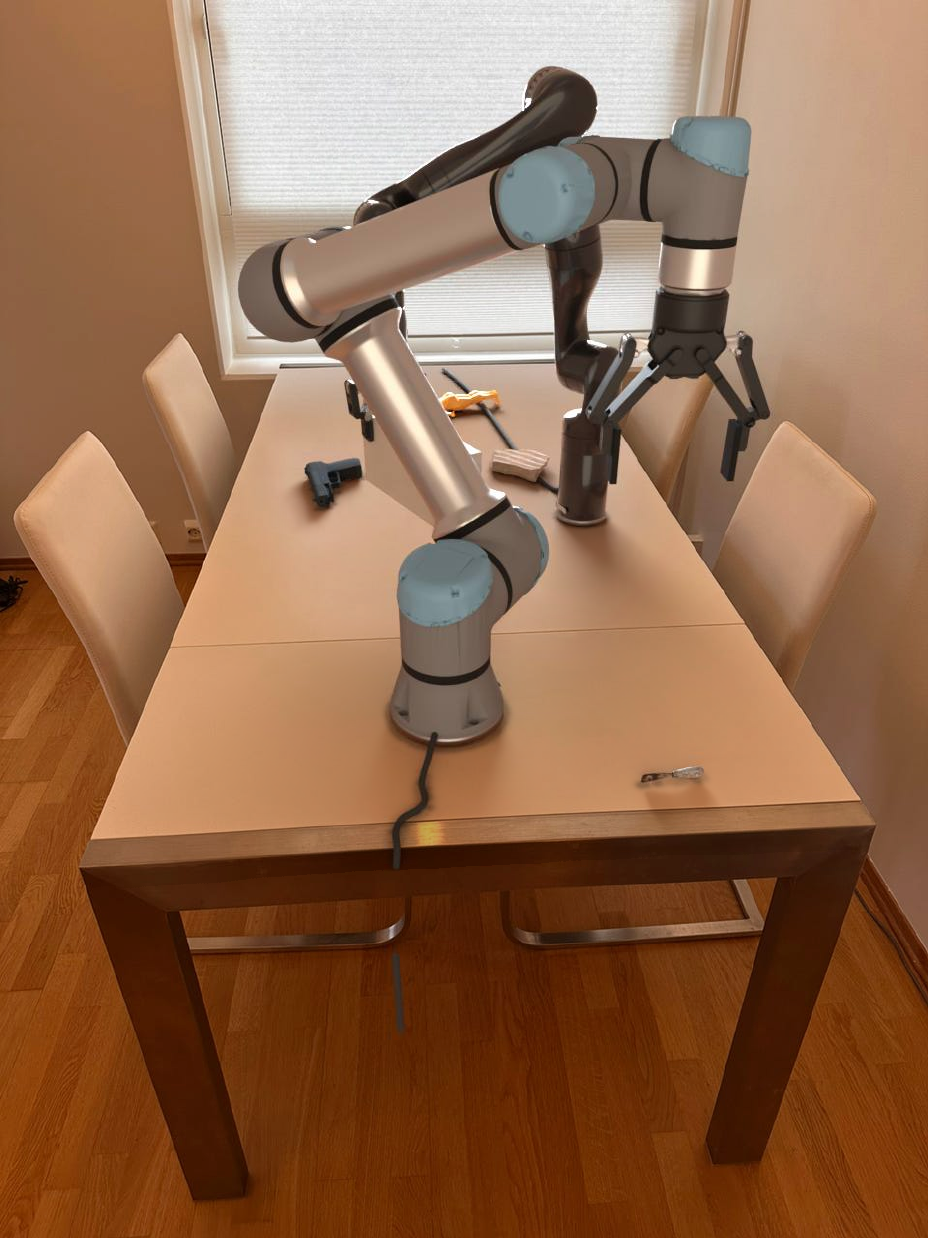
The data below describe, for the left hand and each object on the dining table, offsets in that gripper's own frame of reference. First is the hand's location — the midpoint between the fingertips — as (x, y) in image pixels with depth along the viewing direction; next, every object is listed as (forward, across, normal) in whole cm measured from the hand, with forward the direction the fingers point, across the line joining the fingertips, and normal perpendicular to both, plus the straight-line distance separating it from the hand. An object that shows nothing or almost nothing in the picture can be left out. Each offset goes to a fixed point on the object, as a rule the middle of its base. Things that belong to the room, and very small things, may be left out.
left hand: (669, 478), depth 104 cm
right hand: (+13, +34, -50) cm, 62 cm away
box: (+21, +29, -41) cm, 55 cm away
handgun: (+34, +46, -77) cm, 96 cm away
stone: (+34, +8, -84) cm, 91 cm away
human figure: (+34, +21, -124) cm, 130 cm away
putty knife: (+34, -1, +14) cm, 37 cm away
